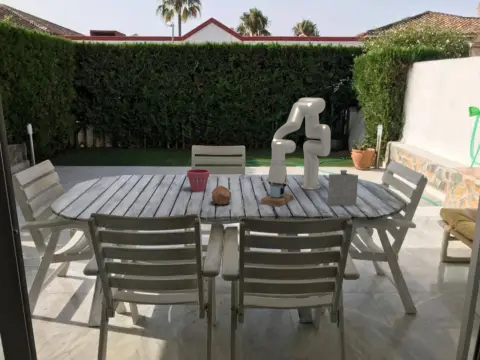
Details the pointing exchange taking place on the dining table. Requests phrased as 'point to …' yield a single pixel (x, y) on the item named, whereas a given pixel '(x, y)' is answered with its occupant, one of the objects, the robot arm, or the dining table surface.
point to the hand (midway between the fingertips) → (277, 193)
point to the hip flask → (342, 188)
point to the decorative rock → (221, 195)
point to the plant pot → (198, 179)
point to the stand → (277, 200)
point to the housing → (275, 190)
